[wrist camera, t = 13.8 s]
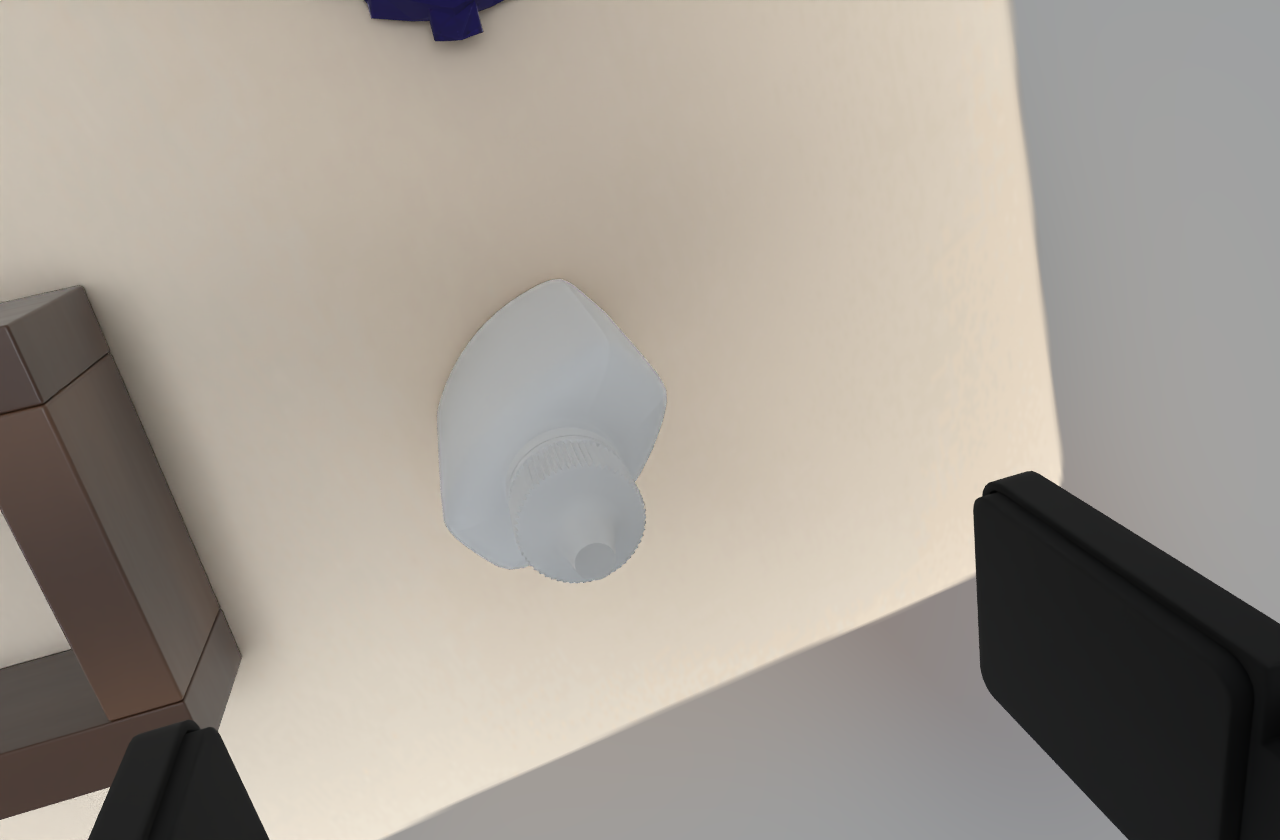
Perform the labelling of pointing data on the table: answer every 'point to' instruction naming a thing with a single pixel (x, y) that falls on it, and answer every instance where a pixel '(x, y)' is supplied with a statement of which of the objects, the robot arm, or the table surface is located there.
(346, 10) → the table surface
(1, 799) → the holder
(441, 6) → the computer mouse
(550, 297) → the eye dropper bottle
